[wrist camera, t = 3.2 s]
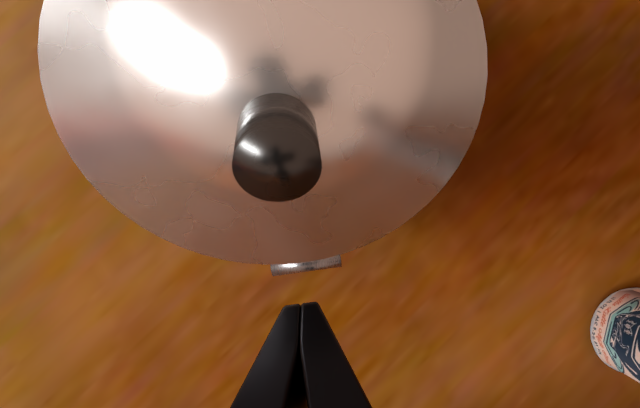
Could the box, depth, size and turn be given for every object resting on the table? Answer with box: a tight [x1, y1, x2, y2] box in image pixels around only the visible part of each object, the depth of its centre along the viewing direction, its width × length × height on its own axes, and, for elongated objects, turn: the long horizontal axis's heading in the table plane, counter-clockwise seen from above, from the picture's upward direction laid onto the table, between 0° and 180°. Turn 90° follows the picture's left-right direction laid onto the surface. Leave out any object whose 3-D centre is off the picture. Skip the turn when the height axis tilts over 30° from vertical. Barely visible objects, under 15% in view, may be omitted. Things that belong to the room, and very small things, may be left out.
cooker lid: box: [38, 0, 488, 276], centre depth 12 cm, size 14×13×3 cm
